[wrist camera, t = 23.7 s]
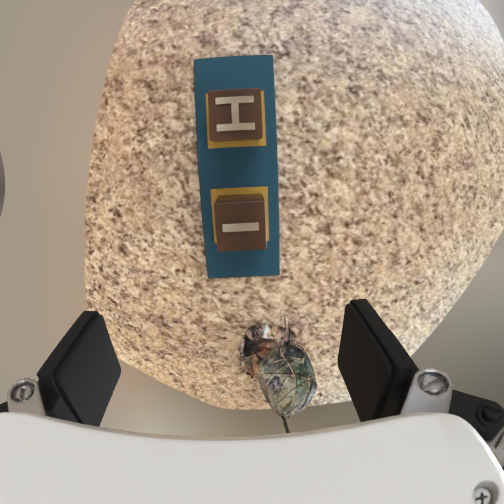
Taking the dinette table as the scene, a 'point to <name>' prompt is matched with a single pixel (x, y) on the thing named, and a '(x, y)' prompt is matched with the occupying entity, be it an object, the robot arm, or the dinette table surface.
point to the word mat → (238, 162)
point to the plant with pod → (279, 368)
